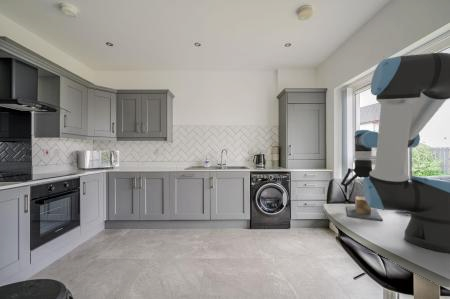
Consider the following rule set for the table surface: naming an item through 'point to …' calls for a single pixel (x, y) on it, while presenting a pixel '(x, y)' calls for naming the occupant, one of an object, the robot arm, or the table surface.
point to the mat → (373, 216)
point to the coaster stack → (362, 206)
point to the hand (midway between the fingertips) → (362, 200)
